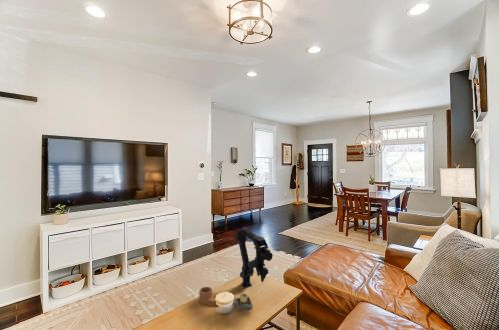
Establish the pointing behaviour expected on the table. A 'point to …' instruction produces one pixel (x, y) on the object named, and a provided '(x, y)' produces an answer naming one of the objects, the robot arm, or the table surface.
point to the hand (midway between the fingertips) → (260, 278)
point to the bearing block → (243, 307)
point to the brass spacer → (243, 299)
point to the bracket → (207, 296)
